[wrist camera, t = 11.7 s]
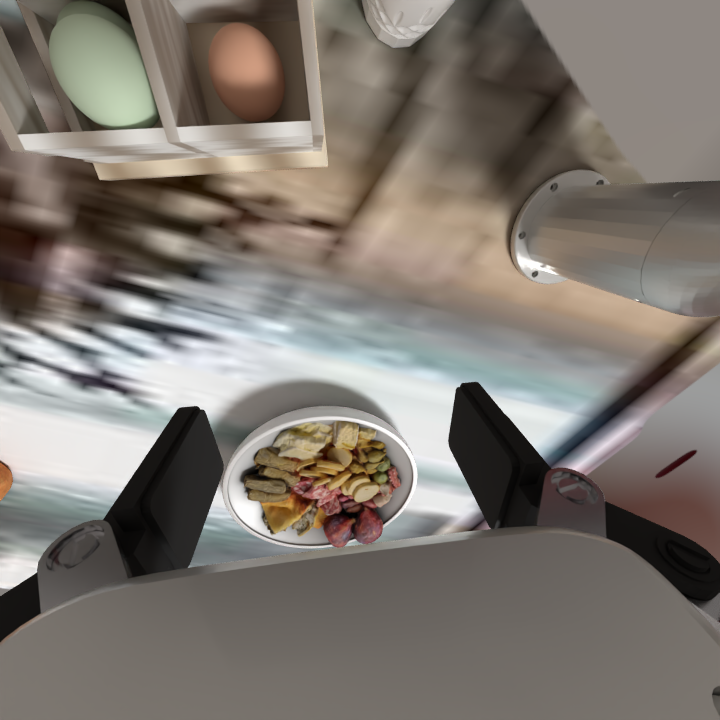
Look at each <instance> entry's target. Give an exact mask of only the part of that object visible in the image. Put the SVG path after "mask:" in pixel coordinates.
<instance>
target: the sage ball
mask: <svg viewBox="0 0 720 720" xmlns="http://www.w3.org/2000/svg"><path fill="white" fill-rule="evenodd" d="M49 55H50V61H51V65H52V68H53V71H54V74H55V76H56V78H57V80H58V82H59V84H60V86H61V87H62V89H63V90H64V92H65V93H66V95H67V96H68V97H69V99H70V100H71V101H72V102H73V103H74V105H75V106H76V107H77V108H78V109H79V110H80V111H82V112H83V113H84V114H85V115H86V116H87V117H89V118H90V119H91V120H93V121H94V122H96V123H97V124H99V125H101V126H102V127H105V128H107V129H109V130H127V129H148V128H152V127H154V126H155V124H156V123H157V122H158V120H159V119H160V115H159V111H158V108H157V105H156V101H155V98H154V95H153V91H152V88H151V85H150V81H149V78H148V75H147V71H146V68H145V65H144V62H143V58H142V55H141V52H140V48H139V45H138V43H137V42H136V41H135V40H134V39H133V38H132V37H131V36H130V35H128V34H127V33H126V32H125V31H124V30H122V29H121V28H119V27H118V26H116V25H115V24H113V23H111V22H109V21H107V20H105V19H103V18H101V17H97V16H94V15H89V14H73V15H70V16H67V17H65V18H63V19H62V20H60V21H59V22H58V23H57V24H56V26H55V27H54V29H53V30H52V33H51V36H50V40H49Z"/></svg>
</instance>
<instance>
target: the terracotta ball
mask: <svg viewBox="0 0 720 720" xmlns="http://www.w3.org/2000/svg"><path fill="white" fill-rule="evenodd" d="M208 64H209V72H210V77H211V80H212V83H213V86H214V89H215V91H216V93H217V94H218V96H219V98H220V99H221V101H222V102H223V103H224V105H225V106H226V107H227V108H228V109H229V110H230V111H231V112H232V113H234V114H235V115H237V116H238V117H240V118H242V119H244V120H247V121H251V122H260V121H264V120H267V119H269V118H270V117H272V116H273V115H274V114H275V113H276V112H277V110H278V109H279V107H280V106H281V103H282V101H283V97H284V92H285V76H284V70H283V66H282V63H281V60H280V58H279V55H278V53H277V52H276V50H275V48H274V46H273V45H272V43H271V42H270V41H269V40H268V39H267V38H266V37H265V36H264V35H263V34H262V33H261V32H260V31H259V30H257V29H256V28H254V27H252V26H250V25H247V24H243V23H232V24H228V25H226V26H224V27H223V28H221V29H220V30H219V31H218V32H217V33H216V35H215V36H214V38H213V40H212V43H211V46H210V49H209V57H208Z"/></svg>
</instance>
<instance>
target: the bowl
mask: <svg viewBox="0 0 720 720" xmlns="http://www.w3.org/2000/svg"><path fill="white" fill-rule="evenodd" d="M416 484H417V467H416V462H415V459H414V457H413V454H412V452H411V450H410V448H409V446H408V444H407V443H406V441H405V440H404V439H403V437H402V436H401V435H400V434H399V433H398V432H397V431H396V430H395V429H394V428H393V427H392V426H390V425H389V424H388V423H386V422H385V421H383V420H382V419H380V418H378V417H376V416H374V415H372V414H369V413H367V412H364V411H361V410H357V409H353V408H348V407H340V406H315V407H308V408H302V409H298V410H294V411H291V412H288V413H285V414H282V415H280V416H278V417H275V418H273V419H271V420H269V421H268V422H266V423H264V424H263V425H261V426H260V427H258V428H257V429H256V430H254V431H253V432H252V433H251V434H250V435H248V436H247V437H246V438H245V439H244V441H243V442H242V443H241V444H240V445H239V446H238V448H237V449H236V451H235V452H234V454H233V455H232V457H231V459H230V461H229V463H228V466H227V468H226V471H225V474H224V478H223V484H222V493H223V499H224V502H225V505H226V507H227V510H228V511H229V513H230V515H231V516H232V517H233V519H234V520H235V521H236V522H237V523H238V524H239V525H240V526H241V527H242V528H244V529H245V530H246V531H248V532H249V533H251V534H253V535H255V536H256V537H258V538H261V539H263V540H265V541H268V542H271V543H274V544H278V545H283V546H288V547H295V548H324V547H332V546H334V547H337V548H339V547H343V546H345V545H346V544H347V543H350V542H353V541H356V540H357V541H358V542H360V543H363V544H369V543H372V542H373V541H375V540H376V539H378V538H379V537H380V536H381V534H382V529H383V527H385V526H386V525H388V524H389V523H390V522H392V521H393V520H394V519H395V518H396V517H397V516H398V515H399V514H400V513H401V512H402V511H403V510H404V509H405V507H406V506H407V505H408V503H409V502H410V500H411V498H412V496H413V494H414V491H415V488H416Z"/></svg>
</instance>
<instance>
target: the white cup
mask: <svg viewBox="0 0 720 720" xmlns="http://www.w3.org/2000/svg"><path fill="white" fill-rule="evenodd" d="M455 1H456V0H362V4H363V9H364V13H365V18H366V21H367V23H368V24H369V26H370V28H371V29H372V31H373V32H374V34H375V35H376V37H377V38H378V39H379V40H380V41H382V42H384V43H386V44H387V45H389V46H391V47H392V48H399V47H410V46H411V45H412V44H414V43H415V42H416V41H418V40H419V39H420V38H422V37H423V36H424V35H425V34H426V33H427V32H428V30H429V29H430V28H432V27H433V26H434V25H435V23H436V22H437V21H438V20H439V19H440V18H441V17H442V16H443V15H444V14H445V12H446V11H447V10H448V9H449V8H450V7H451V5H452V4H453V3H454V2H455Z"/></svg>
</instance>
